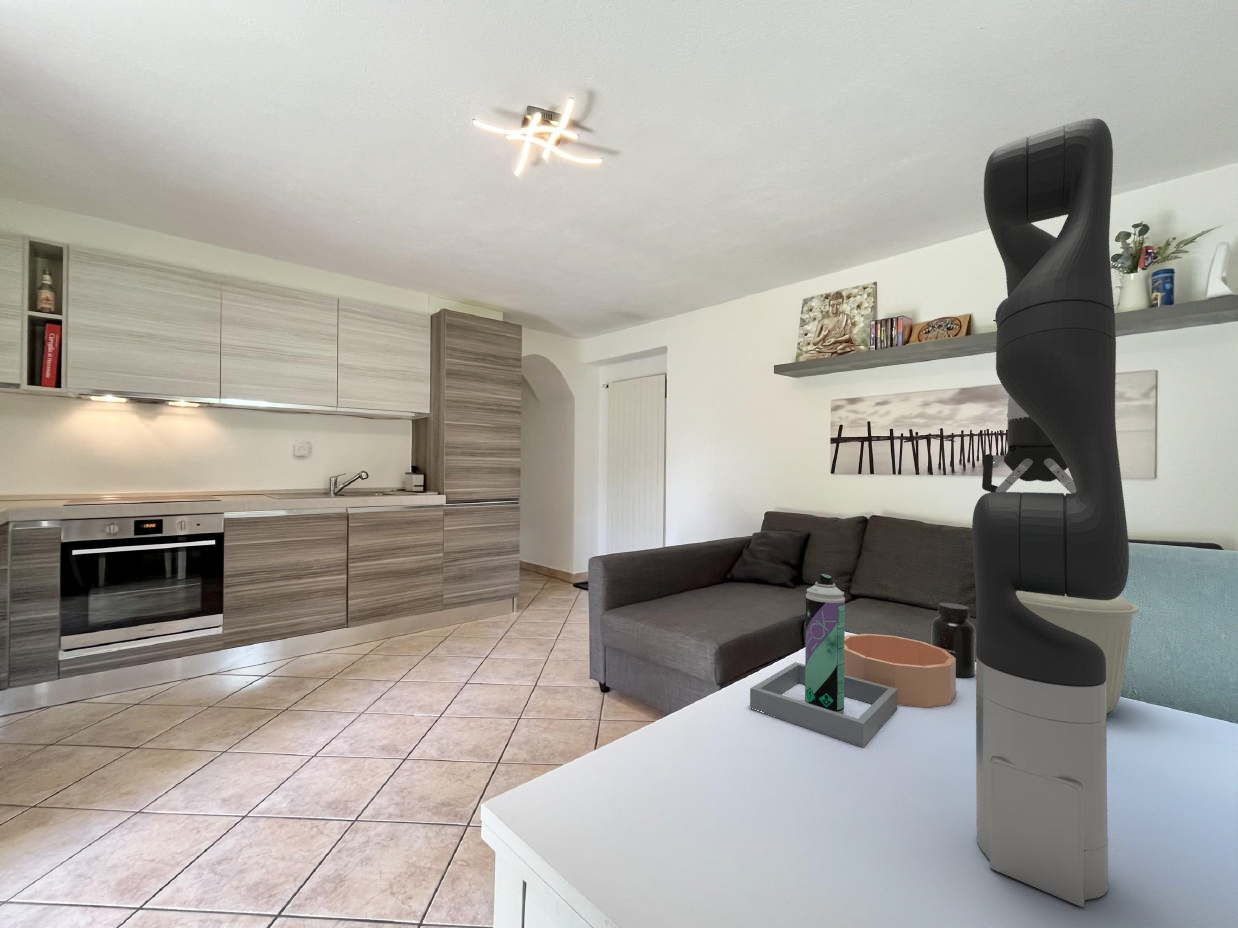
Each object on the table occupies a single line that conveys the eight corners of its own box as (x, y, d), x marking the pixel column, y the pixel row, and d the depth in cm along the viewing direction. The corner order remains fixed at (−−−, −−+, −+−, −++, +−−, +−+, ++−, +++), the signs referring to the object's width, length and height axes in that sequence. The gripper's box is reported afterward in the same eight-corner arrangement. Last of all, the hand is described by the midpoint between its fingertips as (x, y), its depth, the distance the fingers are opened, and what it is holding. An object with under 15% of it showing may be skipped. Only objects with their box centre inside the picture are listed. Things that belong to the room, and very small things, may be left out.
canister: (988, 671, 95) (987, 556, 95) (1124, 696, 84) (1122, 567, 85) (991, 705, 80) (991, 569, 80) (1157, 741, 70) (1154, 584, 70)
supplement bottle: (937, 675, 92) (937, 608, 93) (926, 663, 99) (926, 599, 99) (981, 680, 90) (981, 611, 91) (967, 667, 97) (967, 603, 97)
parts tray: (863, 747, 66) (863, 723, 66) (750, 708, 77) (750, 688, 77) (897, 708, 78) (897, 688, 78) (795, 679, 89) (795, 661, 89)
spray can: (812, 697, 81) (813, 570, 82) (848, 708, 78) (849, 575, 78) (799, 709, 77) (800, 574, 78) (837, 720, 74) (838, 579, 74)
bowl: (941, 717, 75) (941, 675, 76) (824, 684, 87) (824, 648, 87) (962, 684, 88) (962, 649, 88) (857, 660, 99) (858, 628, 100)
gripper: (981, 416, 83) (981, 518, 82) (1102, 411, 74) (1103, 524, 73) (982, 422, 89) (983, 517, 88) (1095, 417, 80) (1096, 522, 79)
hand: (1037, 520), depth 81 cm, fingers open, 8 cm apart
